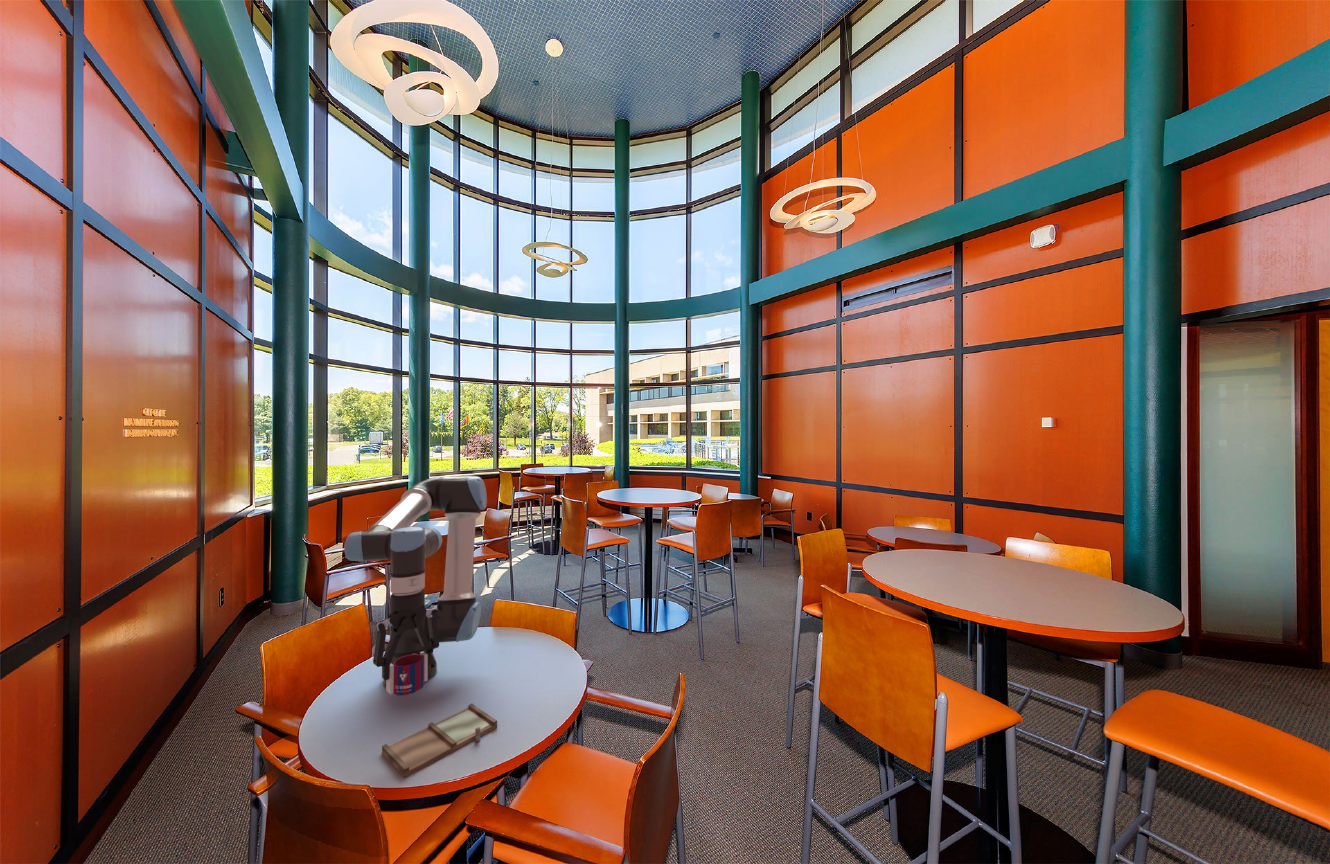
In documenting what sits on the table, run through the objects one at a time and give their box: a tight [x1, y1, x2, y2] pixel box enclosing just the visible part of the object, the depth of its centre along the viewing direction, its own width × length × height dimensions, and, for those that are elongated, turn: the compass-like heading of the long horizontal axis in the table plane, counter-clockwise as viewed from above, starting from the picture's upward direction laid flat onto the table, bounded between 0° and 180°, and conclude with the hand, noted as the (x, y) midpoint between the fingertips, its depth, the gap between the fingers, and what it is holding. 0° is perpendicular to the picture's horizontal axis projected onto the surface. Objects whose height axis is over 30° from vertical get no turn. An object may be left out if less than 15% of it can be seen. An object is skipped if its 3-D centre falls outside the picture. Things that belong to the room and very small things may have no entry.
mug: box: [393, 653, 425, 696], centre depth 115 cm, size 7×10×7 cm
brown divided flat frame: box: [381, 703, 498, 778], centre depth 117 cm, size 15×23×3 cm, turn 141°
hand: (407, 685), depth 114 cm, fingers closed on mug, 7 cm apart
